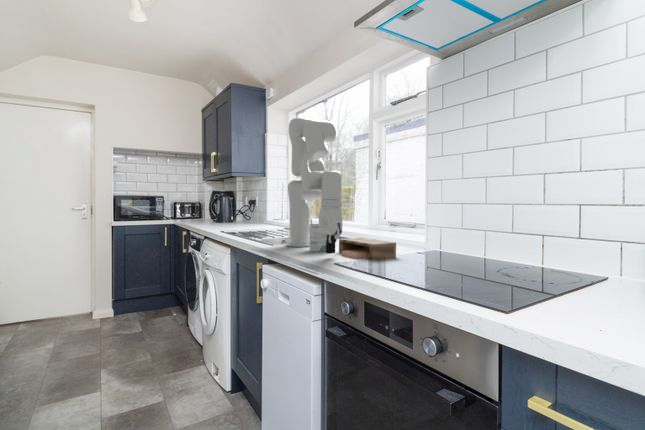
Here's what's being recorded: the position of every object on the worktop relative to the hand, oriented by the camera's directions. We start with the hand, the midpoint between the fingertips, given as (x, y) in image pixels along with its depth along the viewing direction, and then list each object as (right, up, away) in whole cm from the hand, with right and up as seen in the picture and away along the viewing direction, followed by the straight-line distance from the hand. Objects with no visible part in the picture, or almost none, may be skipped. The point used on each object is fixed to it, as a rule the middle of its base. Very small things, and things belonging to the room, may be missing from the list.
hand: (330, 252), depth 131 cm
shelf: (+14, -2, +8) cm, 17 cm away
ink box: (-4, -1, +19) cm, 20 cm away
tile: (+13, -2, +6) cm, 15 cm away
